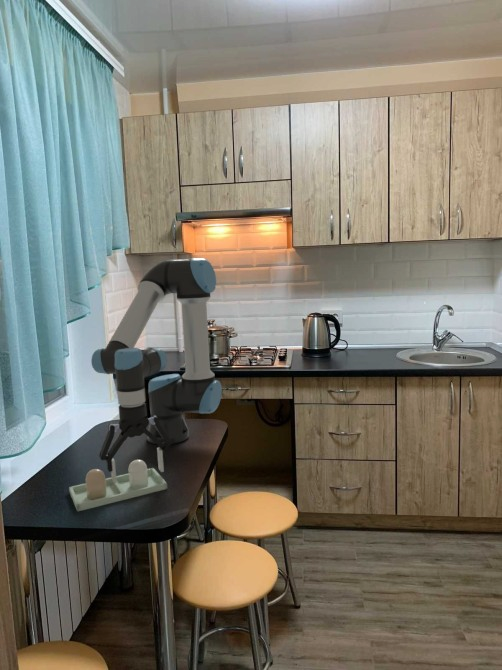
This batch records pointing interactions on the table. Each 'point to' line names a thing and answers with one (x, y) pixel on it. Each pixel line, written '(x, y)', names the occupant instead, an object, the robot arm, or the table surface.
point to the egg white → (138, 474)
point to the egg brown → (95, 484)
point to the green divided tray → (116, 490)
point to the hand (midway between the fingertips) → (138, 475)
